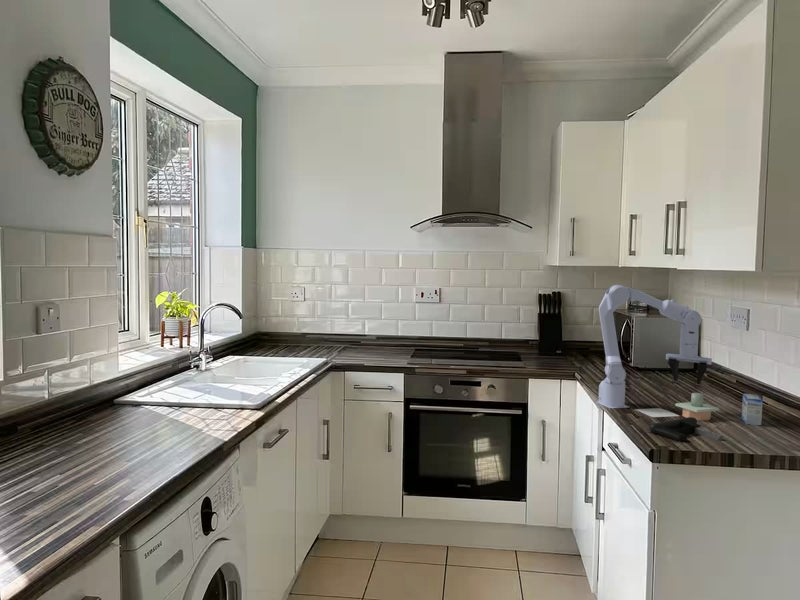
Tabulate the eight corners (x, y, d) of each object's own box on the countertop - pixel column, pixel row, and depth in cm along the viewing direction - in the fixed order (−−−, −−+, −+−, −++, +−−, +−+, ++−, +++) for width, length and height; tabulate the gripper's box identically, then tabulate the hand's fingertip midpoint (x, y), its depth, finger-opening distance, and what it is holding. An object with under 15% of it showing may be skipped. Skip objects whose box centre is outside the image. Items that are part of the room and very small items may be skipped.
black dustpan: (735, 430, 172) (686, 414, 186) (692, 439, 162) (644, 421, 176) (733, 441, 172) (685, 424, 186) (691, 450, 163) (643, 432, 177)
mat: (634, 410, 202) (634, 409, 202) (660, 409, 204) (660, 408, 204) (652, 418, 192) (652, 417, 192) (680, 417, 194) (680, 415, 194)
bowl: (677, 415, 196) (678, 405, 196) (698, 414, 198) (698, 404, 197) (694, 422, 188) (694, 411, 188) (715, 421, 190) (716, 410, 189)
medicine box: (741, 418, 193) (742, 393, 193) (756, 420, 192) (757, 394, 191) (745, 424, 186) (747, 398, 186) (761, 426, 184) (763, 399, 184)
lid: (675, 405, 196) (676, 391, 195) (696, 403, 198) (697, 390, 198) (697, 412, 187) (697, 397, 187) (718, 410, 190) (719, 396, 189)
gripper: (663, 342, 203) (661, 380, 204) (708, 347, 193) (706, 386, 194) (670, 340, 208) (668, 377, 209) (714, 345, 198) (712, 383, 199)
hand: (687, 382), depth 202 cm, fingers open, 7 cm apart
